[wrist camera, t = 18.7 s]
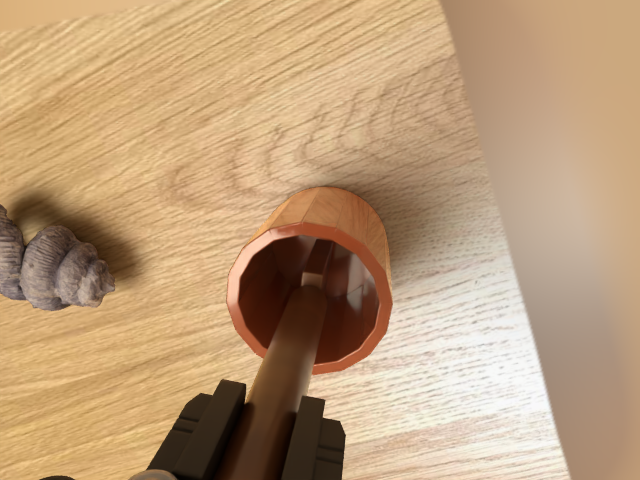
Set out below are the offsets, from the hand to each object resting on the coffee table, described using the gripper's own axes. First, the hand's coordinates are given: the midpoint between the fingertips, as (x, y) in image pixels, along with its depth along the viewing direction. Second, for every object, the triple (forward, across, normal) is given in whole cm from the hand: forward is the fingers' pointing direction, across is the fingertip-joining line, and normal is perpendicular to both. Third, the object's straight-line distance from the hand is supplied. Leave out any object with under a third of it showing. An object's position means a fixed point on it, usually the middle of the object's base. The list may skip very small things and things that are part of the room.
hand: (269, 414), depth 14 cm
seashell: (+16, +18, +3) cm, 24 cm away
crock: (+16, 0, 0) cm, 16 cm away
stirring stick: (+13, 0, 0) cm, 13 cm away
